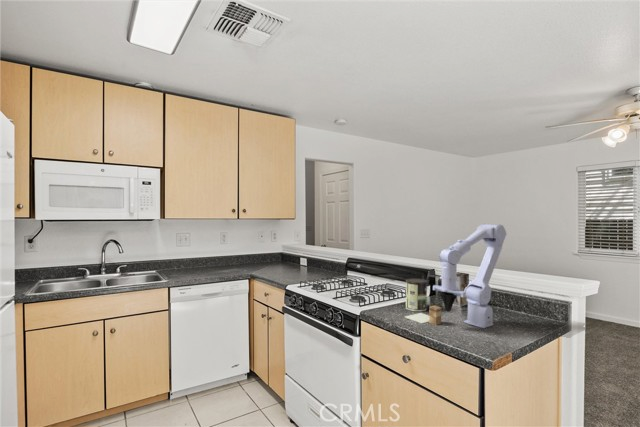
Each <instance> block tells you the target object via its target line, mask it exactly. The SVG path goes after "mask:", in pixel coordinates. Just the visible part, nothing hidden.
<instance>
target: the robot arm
mask: <svg viewBox="0 0 640 427" xmlns="http://www.w3.org/2000/svg"><path fill="white" fill-rule="evenodd" d="M507 235H508V234H507V231H506V228H505V226H504V225H502V224H489V223H481V224H480V225H479V226H477V227H476V230H475V231H473V232H472V233H471V234H470V235H469V236H468V237H466V238H465V239H458V240H457V241H456V242H455V243H454V244H452V245H450V246H449V248H445V249H442V250H441V252H440V253H439V255H438V259H439V261H440V265H441V285H437V284H433V285H432V291H438V292H440V293H439V296H440V298H441V300H442V302H443V305H444V309H445V311H446V312H451V311H452V308H453V307H454V306H453V303H454V301H455V299H456V297H457V296H461V297H465V298H466V299H467V301H468V304H467V319H465V320H463V323H464V324H468V325H472V326H474V327H478V328H481V329H485V328H489V327H492V326H494V322H493V321H494V320H493V318H494V316H493V315H494V312H493V310H494V309H493V308H492V306H490V305H489V303H490V302H491V297H492V291H493V290H492V288H491V286H490V285H489V282H490V280H491V277H492V274H493V272H494V270H495V267H496V264H497V263H498V262H497V261H498V260H499V257H500V254H501V252H502V249H503V244H504V242H505V239H506V237H507ZM481 240H482V241H483V242H484V244H486V246H487V247H486V250H485V252H484V255H483V258H482V259H481V260H482V261H481V263H480V264H479V268H478V270H477V273H476V276H475V278H473V280H469V284H468V286H467V287H466V288H465V290H464V292H463V291H461V290H458V289H456V272H457V264H459V262H460V261H461V258H462V257H463V256H464V255H466V254H467V253H468V252H469V251H471V247H473V246H474V245H475V244H477V243H478V242H479V241H481Z"/></svg>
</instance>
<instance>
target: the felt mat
mask: <svg viewBox="0 0 640 427" xmlns="http://www.w3.org/2000/svg"><path fill="white" fill-rule="evenodd" d="M404 318H405V319H408V320H411V321H413V322H417V323H419V324H426V323H429V315H428V314H425V313H422V312H419V313H415V314H410V315H405V316H404Z"/></svg>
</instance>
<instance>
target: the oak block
mask: <svg viewBox="0 0 640 427" xmlns="http://www.w3.org/2000/svg"><path fill="white" fill-rule="evenodd" d="M428 310H429V311H428V312H429V313H428V314H429V322H428V323H429V324H431V325H435V326H437V325H441V324H442V306H441V307H440V306H437V305H430V306H429V309H428Z"/></svg>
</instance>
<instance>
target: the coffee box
mask: <svg viewBox="0 0 640 427" xmlns="http://www.w3.org/2000/svg"><path fill="white" fill-rule="evenodd" d="M469 282H470V274H469V273H465V272H460V271H459V272H458V271H456V289H458V290H461V291H463V292H464V290H465V288H466V287H467V286H468V284H469ZM464 306H468V301H467V299H466V298H465V297H461V296H457V297H456V299H455V301H454V303H453V306H452V307H458V308H461V307H464Z"/></svg>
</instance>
